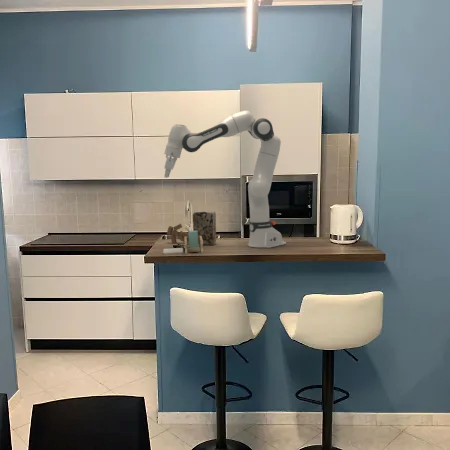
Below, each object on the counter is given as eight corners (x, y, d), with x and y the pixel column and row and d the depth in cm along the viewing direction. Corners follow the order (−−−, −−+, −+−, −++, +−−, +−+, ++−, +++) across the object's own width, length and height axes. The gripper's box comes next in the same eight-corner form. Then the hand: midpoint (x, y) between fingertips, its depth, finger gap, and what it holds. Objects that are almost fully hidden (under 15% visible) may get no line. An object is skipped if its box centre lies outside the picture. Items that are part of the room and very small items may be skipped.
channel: (185, 248, 277) (184, 236, 276) (202, 247, 278) (201, 235, 277) (185, 254, 260) (184, 241, 259) (203, 253, 261) (202, 240, 260)
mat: (163, 250, 274) (163, 248, 274) (183, 249, 275) (183, 247, 275) (163, 254, 263) (162, 252, 263) (183, 252, 264) (183, 251, 264)
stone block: (217, 243, 289) (215, 210, 286) (214, 245, 282) (213, 212, 279) (196, 243, 292) (194, 210, 289) (193, 245, 285) (191, 212, 282)
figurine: (185, 249, 293) (164, 239, 296) (186, 248, 296) (165, 239, 299) (192, 230, 290) (170, 220, 293) (193, 229, 292) (172, 219, 295)
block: (189, 246, 271) (188, 230, 270) (198, 246, 272) (197, 230, 271) (189, 248, 267) (188, 232, 265) (198, 247, 267) (197, 231, 266)
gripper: (177, 154, 255) (170, 179, 257) (179, 154, 275) (172, 178, 277) (165, 151, 254) (159, 176, 256) (168, 152, 275) (162, 175, 276)
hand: (166, 177), depth 267 cm, fingers open, 8 cm apart
